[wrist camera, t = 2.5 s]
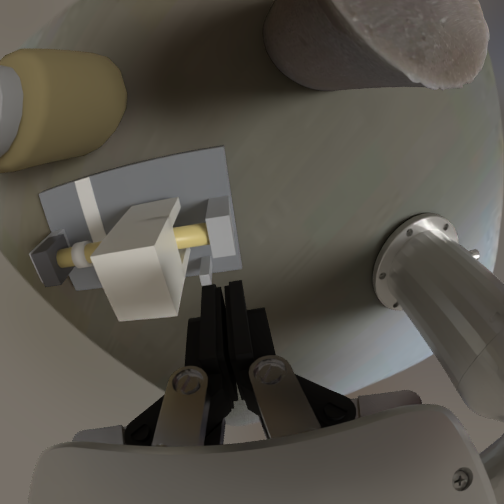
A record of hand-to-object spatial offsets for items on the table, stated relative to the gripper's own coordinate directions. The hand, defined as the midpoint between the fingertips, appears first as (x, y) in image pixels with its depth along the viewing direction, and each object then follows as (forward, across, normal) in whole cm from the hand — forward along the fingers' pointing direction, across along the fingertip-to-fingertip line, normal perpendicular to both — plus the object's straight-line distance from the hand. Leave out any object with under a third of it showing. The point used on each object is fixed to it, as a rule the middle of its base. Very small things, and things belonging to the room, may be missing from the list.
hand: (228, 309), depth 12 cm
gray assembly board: (+14, +8, 0) cm, 16 cm away
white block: (+12, +5, 0) cm, 13 cm away
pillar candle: (+14, -10, -14) cm, 22 cm away
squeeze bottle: (+14, +9, -11) cm, 20 cm away
